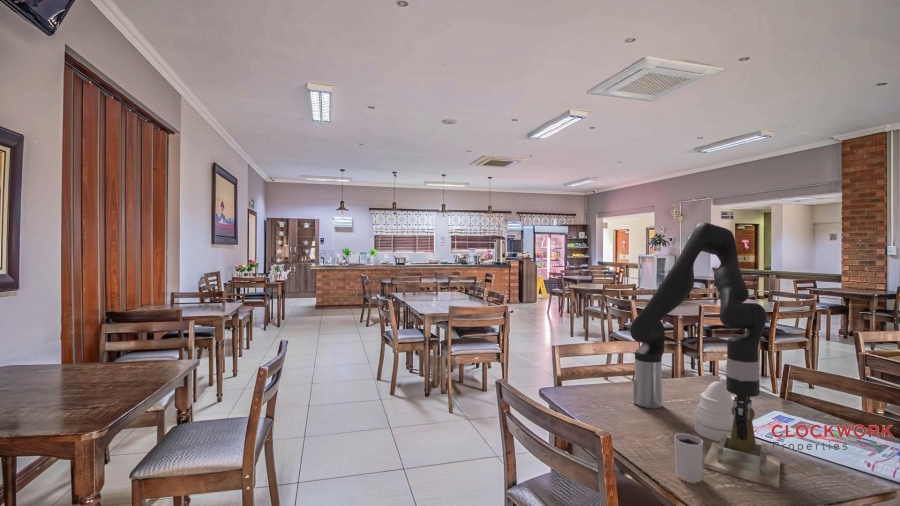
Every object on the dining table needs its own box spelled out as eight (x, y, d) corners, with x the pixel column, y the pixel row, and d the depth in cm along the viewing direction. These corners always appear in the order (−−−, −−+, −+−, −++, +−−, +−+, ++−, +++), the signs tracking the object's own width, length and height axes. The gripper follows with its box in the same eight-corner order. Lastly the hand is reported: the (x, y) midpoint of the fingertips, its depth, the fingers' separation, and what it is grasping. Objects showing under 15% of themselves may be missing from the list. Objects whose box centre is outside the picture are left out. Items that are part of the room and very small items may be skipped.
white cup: (668, 471, 112) (668, 434, 112) (692, 469, 113) (692, 432, 113) (684, 485, 105) (684, 445, 105) (709, 483, 106) (709, 444, 106)
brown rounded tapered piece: (761, 451, 111) (761, 410, 111) (735, 449, 112) (735, 409, 112) (749, 441, 117) (749, 402, 117) (725, 439, 118) (725, 401, 118)
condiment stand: (704, 467, 114) (704, 448, 114) (712, 445, 126) (712, 428, 126) (778, 488, 104) (778, 467, 103) (780, 462, 116) (780, 443, 116)
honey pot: (734, 427, 139) (734, 373, 138) (748, 445, 126) (748, 385, 126) (690, 422, 143) (690, 370, 143) (699, 439, 131) (699, 381, 130)
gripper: (729, 367, 123) (729, 425, 123) (723, 379, 111) (723, 443, 112) (761, 371, 118) (761, 432, 118) (758, 384, 107) (758, 451, 107)
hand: (742, 437), depth 115 cm, fingers closed on brown rounded tapered piece, 4 cm apart
